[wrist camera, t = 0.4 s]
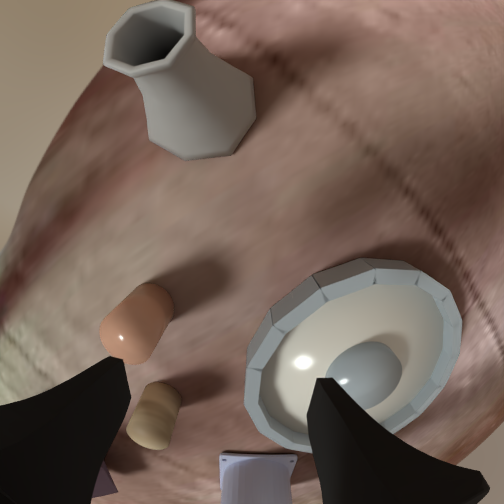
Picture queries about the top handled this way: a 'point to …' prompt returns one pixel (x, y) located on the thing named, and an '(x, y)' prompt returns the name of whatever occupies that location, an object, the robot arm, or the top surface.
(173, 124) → the flask
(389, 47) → the top surface
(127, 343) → the peach rounded cylinder
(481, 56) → the top surface
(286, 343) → the groove tray
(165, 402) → the tan rounded cylinder
